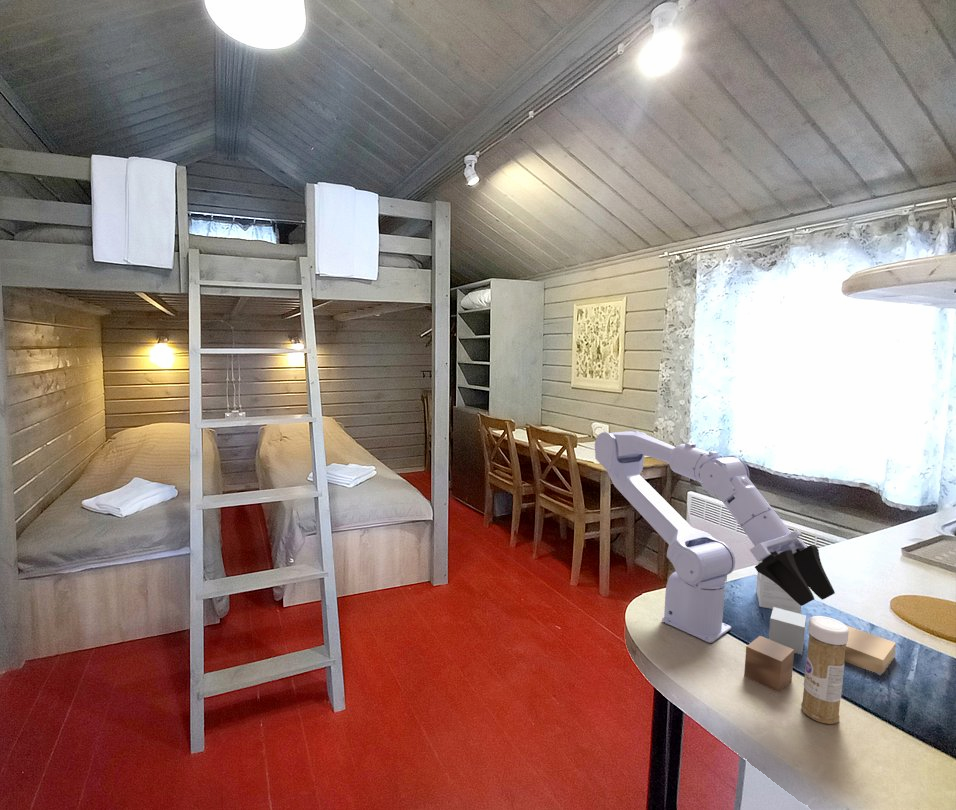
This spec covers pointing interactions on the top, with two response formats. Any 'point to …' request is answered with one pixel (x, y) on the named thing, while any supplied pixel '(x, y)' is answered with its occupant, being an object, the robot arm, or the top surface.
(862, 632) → the oak base block
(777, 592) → the supplement box
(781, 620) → the light grey cube
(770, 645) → the walnut cube
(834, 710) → the toothpick jar
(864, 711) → the top surface
